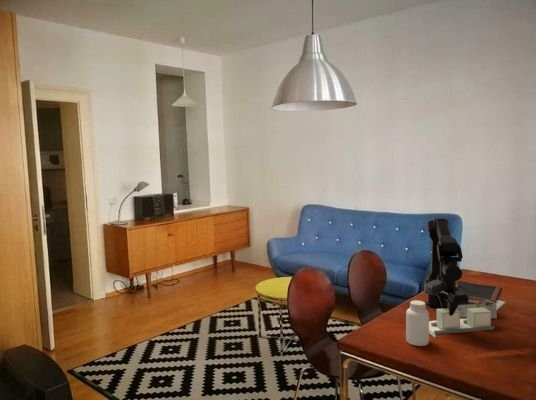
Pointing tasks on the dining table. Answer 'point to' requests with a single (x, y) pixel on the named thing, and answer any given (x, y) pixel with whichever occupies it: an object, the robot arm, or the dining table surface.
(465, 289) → the picture frame
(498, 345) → the dining table surface
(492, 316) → the coffee box
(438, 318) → the pale green box
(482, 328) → the shelf
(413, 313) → the pill bottle
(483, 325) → the faced box
